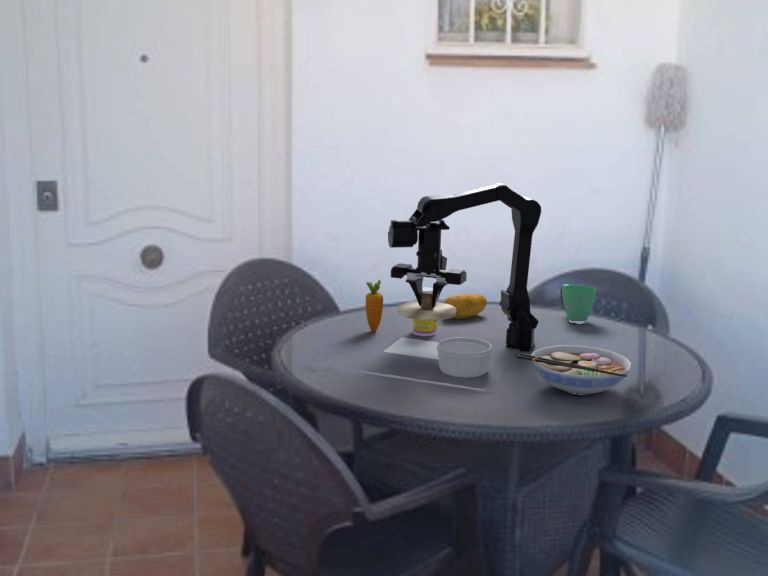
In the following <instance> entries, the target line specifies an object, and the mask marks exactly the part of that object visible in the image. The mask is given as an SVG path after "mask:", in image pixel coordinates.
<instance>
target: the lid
mask: <svg viewBox="0 0 768 576" xmlns="http://www.w3.org/2000/svg"><path fill="white" fill-rule="evenodd" d="M432 296H433V293H432V292H423V293H421V306H419V304H418V301H417V302H413V301H409V302H404V303H402V304H400V305H399V306H397V312H398V313H397V314H399V315H400V316H401V317H405V318H408V319H412V320H413V319H417V320H437V321H441V320H442V321H443V320H448V319H451V318H452V317H454V316H455V315H456V311H457V310H456V308H455V307H454V306H452V305H449V304H445V303H444V302H441V301H440V302H439V301H437V304H436V306H435V308H433V307H432ZM452 319H453V318H452Z"/></svg>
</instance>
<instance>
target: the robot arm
mask: <svg viewBox="0 0 768 576" xmlns="http://www.w3.org/2000/svg"><path fill="white" fill-rule="evenodd" d="M499 201H500V202H501V203H502V204H504V205H505V206H507V207H508V208H510V209H511V220H512V225H513V229H514V235H513V236H514V237H513V245H512V246H513V248H512V257H511V266H510V277H509V285H508V287H507V288H506V290H504V289H501V291H500V302H499V303H498V305H499V306H501V311H502V313H503V314H504V315H505V316H506V317H507V320H508V322H510V323H509V324H508V328H507V329H506V336H505V337H506V338H505V344H506V346H505V347H506V348H508V349H509V348H510V349H516V350H519V351H526V352H531V351H532V349H533V348H534V347H535V345H536V343H535V342H534V341H535V329H536V328H537V326H538V324H539V320H538V319H537V318H536V317H535V315H533V314H532V313H531V301H530V300H531V299H530V296H529V291H528V282H529V281H528V279H529V272H530V271H529V270H530V263H531V262H530V261H531V260H530V259H531V251H532V242H533V235H534V232H535V230H536V228H537V226H538V224H539V222H540V218H541V215H542V206H541V205H540V203H539V202H538V201H537V200H536V199H532V198H530V197H528V196H524V195H523V196H522V195H521V194H519V193H517V192H516V191H514V190H512V189H511V188H510V187H509V186H507V185H506V184H504V183H501V182H496V183H494V184H492V185H488V186H487V185H486V186H483V187H479V188H475V189H471V190H466V191H463V192H459V193H455V194H450V195H449V194H448V195H447V194H445V195H442V194H441V195H440V194H439V195H438V194H437V195H435V194H434V195H425V196H423V197H421V198H420V199H419V201H417V208H416V210H414V212H413V213H412V215H410V217H409V218H408V220H396V219H394V220H393V219H391V220H390V225H389V226H388V227H389V229H388V231H387V242H388V246H389V248H390V249H391V248H392V249H393V248H413V247H414V245H415V246H416V245H417V251H416V252H415V253H416V254H415V255H416V257H417V266H416V267H415V268H414V267H413V266H412V264H410V263H408V264H407V263H402V262H400V263H397V264H395V265H394V266H392V267H391V269H390V278H392V279H400V280H401V279H403V278H404V277H405V276H406V279H405V283H407V284H409V286H410V287H411V290H412V291H413V294H414V297H415V298H416V299H417V301H418V304H419V306H421V293H422V287H423V281H424V278H431V279H435V280H436V281H435V282H433V283H432V288H433V296H432V307H433V308H435V306H436V304H437V302H439V298H440V295H441V293H442V291H443V289H444V288H445V287H446V286H447V285H454V286H455V285H456V286H461V285H462V284H464V283H465V282H466V281H467V280H468V279H467V276H468V275H467V272H466V271H465V269H457V268H451V269H449V270H447V271H446V269H447V264H448V257H446V256H444V255H443V251H442V250H443V249H442V248H441V244H442V243H441V242H442V231H449V230H450V226H449V225H448V224H447V223H446V222H445V220H444V219H446V218H448V217H450V216H451V215H453V214H454V213H456V212H458V211H461V210H466V209H470V208H474V207H478V206H482V205H486V204H487V205H488V204H490V203H495V202H499Z"/></svg>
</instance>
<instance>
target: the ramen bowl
mask: <svg viewBox="0 0 768 576" xmlns="http://www.w3.org/2000/svg"><path fill="white" fill-rule="evenodd" d="M515 358H516V359H519V360H523V361H524V360H525V361H530V362H532V364H533V366H534V367H535V369H536V371H537V372H538V373H539V375H540V376H541V378H542V379H543V380H544V381H545V382H546V383H547V384H549V385H551V386H552V387H554V388H557V389H558V390H561V391H563V390H564V392H565V391H567V392H570V393H576V394H590V395H592V394H591V393H593V394H597V393H601V392H605V391H607V390H609V389H611V388H614V387H616V386H617V385H619V384H620V383H621V382H622V381H623V380H624V378H627V377H628V373H629V372H630V370H631V367H632V362H631V361H630V360H629V359H628V358H627V357H626V356H624V355H622V354H619V353H617V352H615V351H611V350H608V349H603V348H600V347H595V346H586V345H585V346H584V345H578V344H577V345H571V344H570V345H564V344H563V345H559V344H558V345H551V346H545V347H541V348H539V349H537V350H534V351H533V352H532V354H527V353H523V352H520V353H519V354H517V355H516V357H515ZM567 392H566V393H567ZM570 393H569V394H570Z"/></svg>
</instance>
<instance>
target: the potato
mask: <svg viewBox="0 0 768 576" xmlns="http://www.w3.org/2000/svg"><path fill="white" fill-rule="evenodd" d="M443 303H445V304H449V305H452V306H454V307H455V308H456V310H457V311H456V315H455V316H454V317H452V319H455V320H456V319H462V320H463V319H468V318H472V317H474V316H477V315H479V314H480V313H482V312H483V311H484V310H485V308H486V307H487V298H486V296H485V295H483V294H480V293H466V294H465V293H462V294H456V295H450V296H448V297H447V298H445V300H444V302H443Z"/></svg>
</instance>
